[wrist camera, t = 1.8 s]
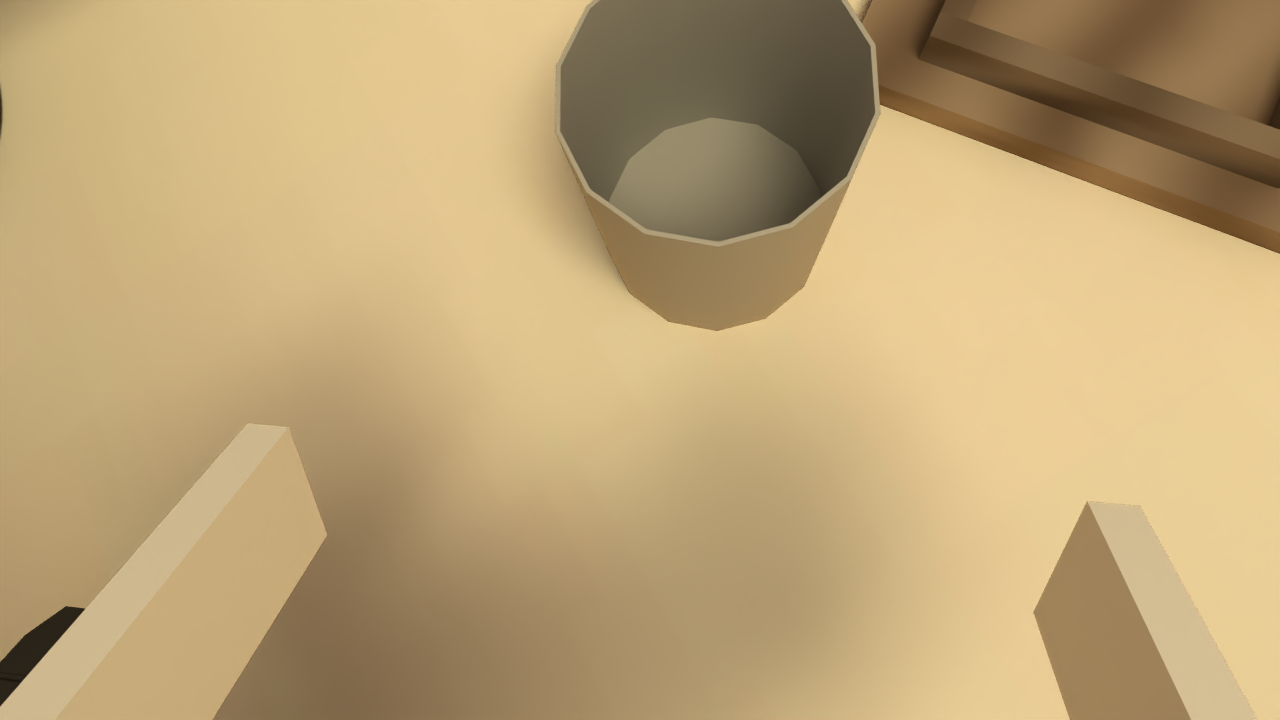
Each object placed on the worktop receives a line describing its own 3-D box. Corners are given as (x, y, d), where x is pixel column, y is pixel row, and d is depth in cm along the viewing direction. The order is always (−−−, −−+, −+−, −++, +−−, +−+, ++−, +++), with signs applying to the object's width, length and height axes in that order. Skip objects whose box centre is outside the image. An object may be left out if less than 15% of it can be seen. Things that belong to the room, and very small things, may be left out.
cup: (573, 182, 30) (504, 32, 20) (757, 88, 30) (778, -109, 20) (668, 367, 28) (643, 303, 18) (863, 268, 28) (943, 150, 18)
